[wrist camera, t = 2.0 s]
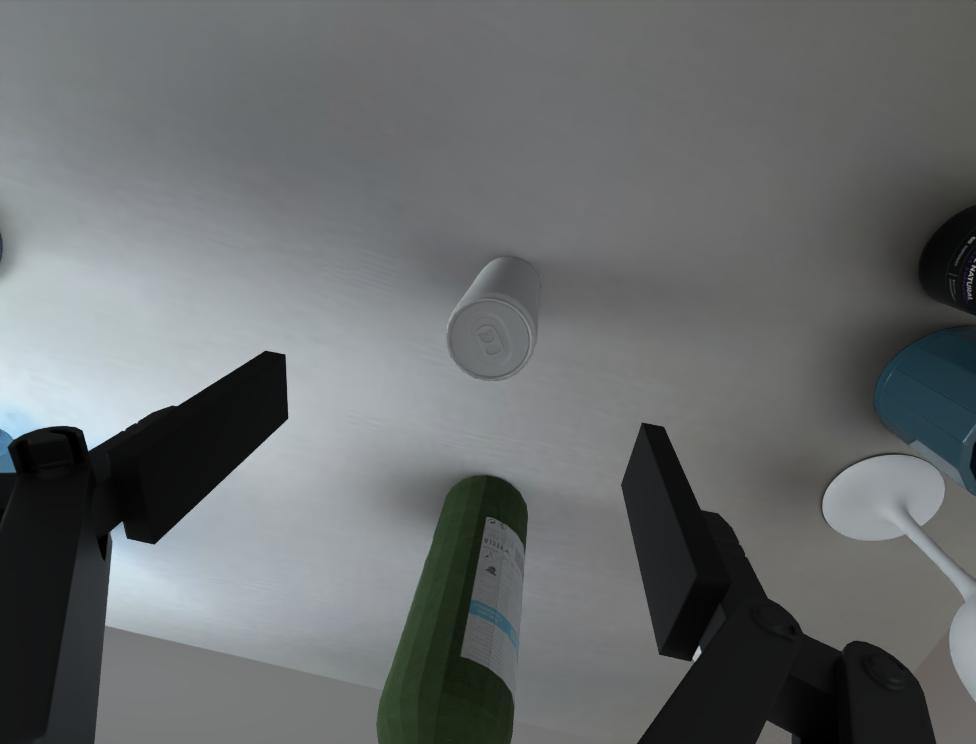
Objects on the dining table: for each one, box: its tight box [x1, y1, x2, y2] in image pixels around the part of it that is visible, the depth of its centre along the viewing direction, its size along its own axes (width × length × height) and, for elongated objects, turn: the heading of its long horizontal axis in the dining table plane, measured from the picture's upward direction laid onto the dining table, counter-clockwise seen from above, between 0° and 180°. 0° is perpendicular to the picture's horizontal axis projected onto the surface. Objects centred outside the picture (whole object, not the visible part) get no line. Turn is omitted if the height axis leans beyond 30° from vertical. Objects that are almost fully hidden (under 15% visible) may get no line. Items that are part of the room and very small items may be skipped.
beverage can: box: [446, 257, 540, 381], centre depth 29 cm, size 5×5×12 cm
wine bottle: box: [376, 476, 528, 744], centre depth 29 cm, size 8×8×30 cm
